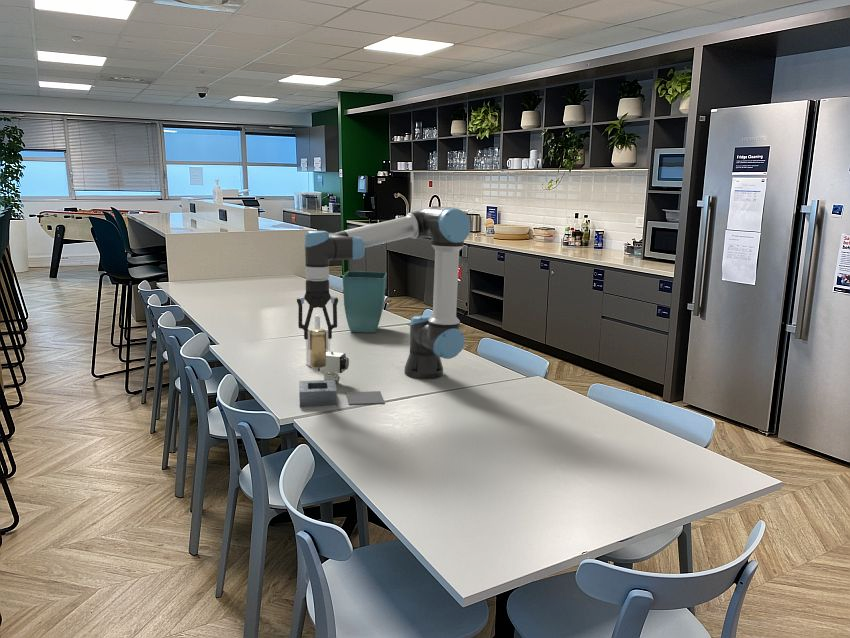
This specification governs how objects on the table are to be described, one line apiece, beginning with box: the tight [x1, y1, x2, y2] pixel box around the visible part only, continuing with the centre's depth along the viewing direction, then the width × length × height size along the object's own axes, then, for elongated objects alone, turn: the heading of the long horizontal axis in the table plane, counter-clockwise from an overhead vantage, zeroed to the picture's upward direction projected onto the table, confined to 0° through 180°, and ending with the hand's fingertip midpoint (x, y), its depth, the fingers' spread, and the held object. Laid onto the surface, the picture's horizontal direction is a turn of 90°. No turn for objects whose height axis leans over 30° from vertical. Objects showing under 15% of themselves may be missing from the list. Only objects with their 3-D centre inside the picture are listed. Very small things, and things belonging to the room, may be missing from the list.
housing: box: [298, 379, 338, 408], centre depth 212 cm, size 12×12×5 cm
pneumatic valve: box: [317, 350, 350, 384], centre depth 231 cm, size 6×12×12 cm, turn 78°
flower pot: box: [342, 270, 388, 334], centre depth 314 cm, size 20×20×28 cm
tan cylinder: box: [309, 328, 326, 369], centre depth 209 cm, size 5×5×12 cm
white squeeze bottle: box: [305, 315, 331, 368], centre depth 253 cm, size 10×9×20 cm
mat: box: [345, 390, 386, 406], centre depth 216 cm, size 12×12×1 cm
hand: (318, 348), depth 209 cm, fingers closed on tan cylinder, 5 cm apart
